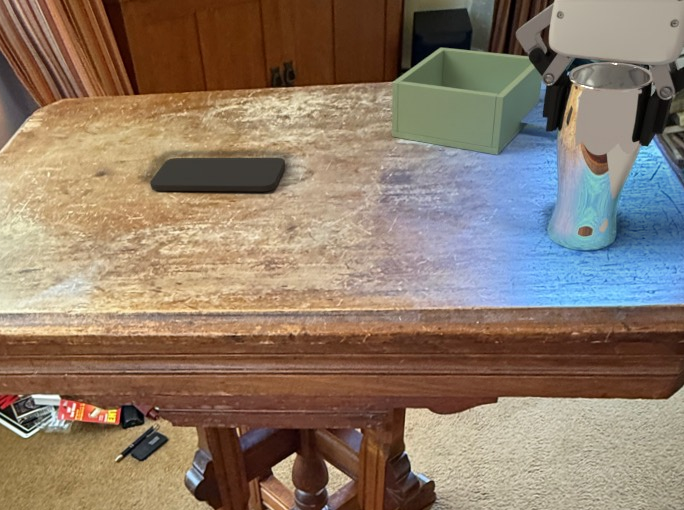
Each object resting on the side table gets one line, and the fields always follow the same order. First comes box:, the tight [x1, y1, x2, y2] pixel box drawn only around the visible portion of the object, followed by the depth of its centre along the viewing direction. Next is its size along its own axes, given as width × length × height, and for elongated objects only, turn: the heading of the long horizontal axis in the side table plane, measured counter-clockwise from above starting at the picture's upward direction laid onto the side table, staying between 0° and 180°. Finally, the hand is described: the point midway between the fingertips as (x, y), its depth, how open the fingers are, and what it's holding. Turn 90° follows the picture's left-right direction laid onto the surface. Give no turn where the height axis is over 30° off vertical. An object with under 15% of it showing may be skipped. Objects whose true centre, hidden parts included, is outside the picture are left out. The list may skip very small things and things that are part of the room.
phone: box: [149, 157, 286, 192], centre depth 84 cm, size 7×1×15 cm
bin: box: [391, 47, 543, 156], centre depth 88 cm, size 14×14×7 cm
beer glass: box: [546, 61, 654, 251], centre depth 63 cm, size 7×7×15 cm
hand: (600, 131), depth 62 cm, fingers closed on beer glass, 7 cm apart
